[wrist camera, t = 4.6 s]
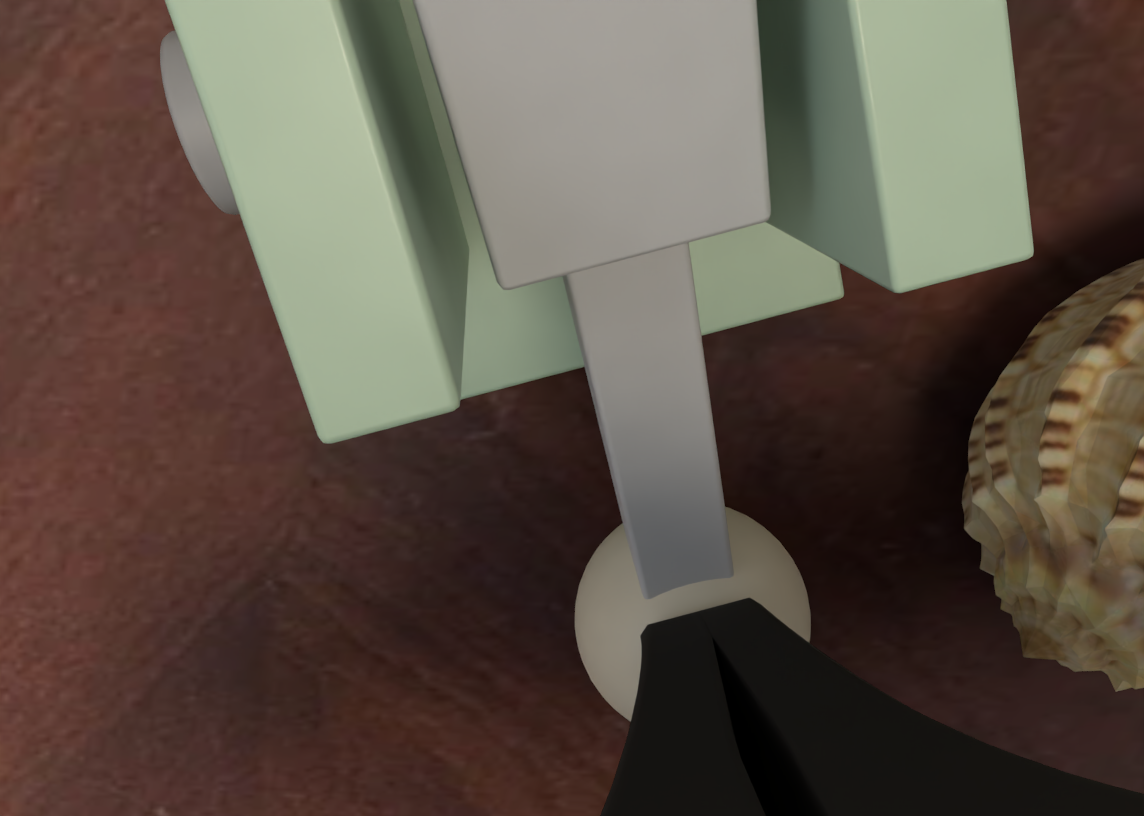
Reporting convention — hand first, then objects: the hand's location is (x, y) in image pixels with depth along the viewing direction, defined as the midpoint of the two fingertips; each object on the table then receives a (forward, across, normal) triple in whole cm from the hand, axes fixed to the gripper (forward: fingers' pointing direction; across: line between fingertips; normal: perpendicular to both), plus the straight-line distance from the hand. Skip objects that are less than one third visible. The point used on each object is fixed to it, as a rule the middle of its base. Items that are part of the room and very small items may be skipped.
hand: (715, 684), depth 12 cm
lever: (+1, 0, -4) cm, 4 cm away
